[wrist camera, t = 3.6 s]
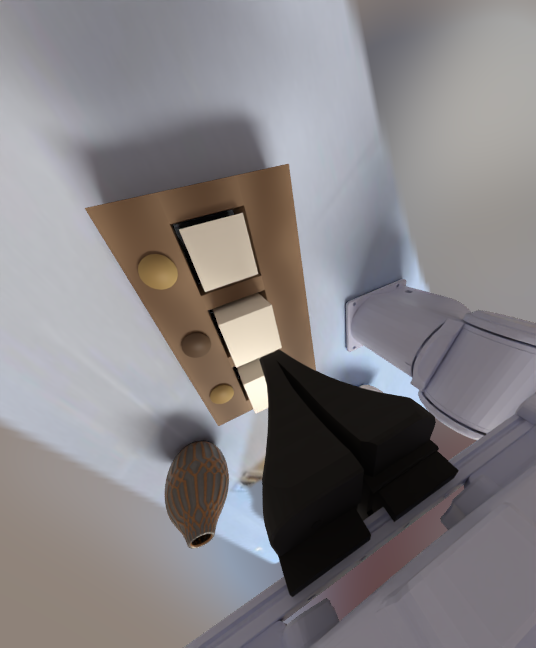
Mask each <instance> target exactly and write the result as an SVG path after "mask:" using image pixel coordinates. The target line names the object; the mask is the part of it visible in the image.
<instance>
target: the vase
mask: <svg viewBox="0 0 536 648" xmlns="http://www.w3.org/2000/svg"><path fill="white" fill-rule="evenodd" d="M228 485H229V474H228V468H227V464H226V460H225V458H224V455H223V454H222V452H221V451H220V449H219V448H218V447H217V446H215V445H214V444H212V443H210V442H206V441H198V442H194V443H192V444H189V445H188V446H186V447H185V448H184V449H183V450H182V451H181V452H180V453H179V454H178V455H177V456H176V457H175V459H174V460H173V462H172V464H171V466H170V469H169V471H168V475H167V478H166V484H165V504H166V509H167V513H168V515H169V518H170V520H171V521H172V522H173V524H174V525H175V526H176V528H177V529H178V530H179V531H180V532H181V533H182V534H183V536H184V538H185V540H186V542H187V545H188V547H189V548H198V547H201V546H203V545H205V544H206V543H208V542H209V541H210V540H211V539H212V538H213V537H214V534H215V529H216V525H217V521H218V518H219V516H220V514H221V511H222V509H223V506H224V503H225V501H226V497H227V493H228Z"/></svg>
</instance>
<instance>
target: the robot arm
mask: <svg viewBox="0 0 536 648" xmlns="http://www.w3.org/2000/svg"><path fill="white" fill-rule="evenodd" d="M353 303H354V304H353ZM346 336H347V351H349V352H351V351H353V350H355V349H358V348H360V347H362V346H365V347H367V348H368V349H370V350H371V351H373V352H374V353H376V354H377V355H379V356H380V357H382V358H383V359H385V360H386V361H388V362H389V363H391V364H392V365H394V366H395V367H397V368H399V369H400V370H402V371H403V372H405V373H406V374H408V375H409V376H411V377H412V381H411V384H412V385H413V386H415V387H416V388H418V389H419V392H418V396H419V398H420V400H421V402H422V403H423V404H424V406H425V407H426V409H427V410H428V411H429V412H428V411H427V410H426V409H425V408H423V407H422V406H421V405H420V404H418V403H417V402H415V401H414V400H412V399H411V398H408V397H402V396H397V395H391V394H385V393H381V392H376V391H372V390H368V389H364V388H361V387H357V386H354V385H351V384H347V383H344V382H341V381H339V380H336V379H333V378H331V377H329V376H326V375H324V374H322V373H320V372H318V371H315V370H313V369H311V368H310V367H308V366H306V365H304V364H302V363H300V362H299V361H297V360H295V359H294V358H292V357H290V356H289V355H287V354H286V353H284V352H283V351H281V350H277V351H275V352H273V353H270V354H268V355H265V356H263V357H261V358H260V359H259V361H260V364H261V367H262V371H263V374H264V377H265V381H266V384H267V394H268V436H267V447H266V457H265V464H264V471H263V478H262V485H263V516H264V523H265V527H266V531H267V534H268V538H269V541H270V545H271V546H272V548H273V549H274V551H275V552H276V553H277V555H278V557H279V560H280V563H281V567H282V571H283V574H284V577H283V578H281V579H280V580H279V581H277V582H276V583H274V584H273V585H271V586H270V587H268V588H267V589H266V590H264V591H263V592H261V593H260V594H258V595H257V596H256V597H254V598H253V599H251V600H250V601H249V602H247V603H246V604H244V605H243V606H241V607H240V608H239V609H237V610H236V611H234V612H233V613H232V614H230V615H229V616H227V617H226V618H224V619H223V620H222V621H220V622H219V623H217V624H216V625H214V626H213V627H212V628H210V629H209V630H207V631H206V632H205V633H203V634H202V635H200V636H199V637H198V638H196V639H195V640H193V641H192V642H190V643H189V644H187V645H186V646H185V647H183V648H536V323H533V322H530V321H525V320H522V319H518V318H514V317H510V316H506V315H502V314H497V313H493V312H488V311H481V310H478V311H474V312H472V313H471V312H470V310H469V309H468V308H467V307H466V306H464V305H463V304H462V303H460V302H459V301H456V300H454V299H452V298H448V297H444V296H441V295H437V294H433V293H429V292H425V291H422V290H418V289H414V288H410V287H407V286H406V280H405V279H401V280H398V281H396V282H393V283H391V284H389V285H386V286H384V287H381V288H379V289H377V290H374V291H372V292H369V293H367V294H365V295H362V296H360V297H357V298H355V299H353V300H350V301H348V302H347V304H346ZM435 418H437V419H438V420H439V421H440V422H442V423H443V424H445V425H446V426H448V427H449V428H451V429H453V430H454V431H456V432H458V433H460V434H462V435H464V436H467V437H469V438H472V439H475V440H477V441H476V442H474V443H473V444H471V445H470V446H469V447H467V448H466V449H464V450H463V451H462V452H460V453H459V454H457V455H456V456H455V457H453V458H452V459H450V460H449V461H448V460H447V459H446V458H445V457H443V456H442V455H441V454H440V453H439V452H438V451H437V450H438V449H439V448H438V446H437V445H436V444H435V443H433V442H432V441H431V440H430V437H431V434H432V432H433V429H434V426H435V423H436V422H435ZM462 485H464V490H463V491H462V492H461V493H460V494H459V495H457V496H456V497H455V498H454V499H453V501H452V504H451V506H450V507H449V509H448V510H447V511H446V513H444V515H443V516H442V517H441V518H440V519H441V522H442V523H443V524H444V526H445V527H446V528H447V529H448V531H447V532H445V533H444V534H443V535H442V536H440V537H439V538H438V539H437V540H435V541H434V542H433V543H432V544H431V545H429V546H428V547H427V548H426V549H424V550H423V551H422V552H421V553H420V554H418V555H417V556H416V557H415V558H414V559H412V560H411V561H410V562H409V563H408V564H406V565H405V566H404V567H403V568H402V569H400V570H399V571H398V572H397V573H396V574H395V575H393V576H392V577H391V578H390V579H389V580H388V581H386V582H385V583H384V584H383V585H382V586H380V587H379V588H378V589H377V590H376V591H375V592H373V593H372V594H371V595H370V596H369V597H368V598H366V599H365V600H364V601H363V602H362V603H361V604H359V605H358V606H357V607H356V608H355V609H354V610H352V611H351V612H350V613H349V614H348V615H347V616H346V617H344V618H343V619H342V620H341V621H340V622H339V619H338V617H337V614H336V612H335V609H334V607H333V606H332V605H331V603H330V600H328V599H327V598H326V599H324V600H323V601H321V602H319V603H318V604H316V605H315V606H313V607H311V608H310V609H309V610H307V611H305V612H304V613H302V614H300V615H299V616H298V617H296V618H295V619H294V620H292V621H291V622H290V623H289V624H288V625H287V624H285V623H283V621H285V620H286V619H287V618H289V617H290V616H291V615H293V614H294V613H295V612H297V611H298V610H299V609H300V608H302V607H303V606H305V605H306V604H307V603H309V602H310V601H311V600H312V599H314V598H315V597H316V596H318V595H319V594H320V593H322V592H323V591H324V590H326V589H327V588H328V587H329V586H331V585H332V584H334V583H335V582H336V581H337V580H339V579H340V578H341V577H343V576H344V575H345V574H347V573H348V572H349V571H351V570H352V569H353V568H355V567H356V566H357V565H359V564H360V563H361V562H362V561H364V560H365V559H366V558H368V557H369V556H370V555H371V554H373V553H374V552H376V551H377V550H378V549H379V548H381V547H382V546H384V545H385V544H386V543H387V542H389V541H390V540H391V539H393V538H394V537H395V536H397V535H398V534H399V533H400V532H402V531H403V530H405V529H406V528H407V527H409V526H410V525H411V524H412V523H414V522H415V521H416V520H418V519H419V518H420V517H422V516H423V515H424V514H425V513H427V512H428V511H430V510H431V509H432V508H434V507H435V506H436V505H438V503H440V502H441V501H443V500H444V499H445V498H447V497H448V496H449V495H451V494H452V493H453V492H455V491H456V490H457V489H459V488H460V487H461V486H462Z"/></svg>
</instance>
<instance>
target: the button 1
mask: <svg viewBox="0 0 536 648" xmlns="http://www.w3.org/2000/svg"><path fill="white" fill-rule="evenodd" d="M179 231H180V233H181V236H182V238H183V240H184V243H185V245H186V248H187V250H188V252H189V255H190V257H191V260H192V262H193V264H194V267H195V269H196V272H197V274H198V276H199V279H200V281H201V283H202V286H203V288H204V291H205V292H207V291H210V290H213V289H216V288H219V287H222V286H225V285H227V284H230V283H233V282H236V281H239V280H242V279H245V278H248V277H251V276H254V275H257V274H258V271H257V267H256V263H255V259H254V255H253V251H252V247H251V243H250V239H249V236H248V232H247V228H246V224H245V220H244V216H243V213H240V214H236V215H232V216H228V217H224V218H220V219H216V220H213V221H209V222H205V223H201V224H197V225H194V226H190V227H186V228H182V229H179Z"/></svg>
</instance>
